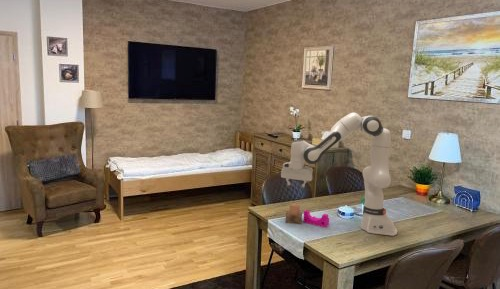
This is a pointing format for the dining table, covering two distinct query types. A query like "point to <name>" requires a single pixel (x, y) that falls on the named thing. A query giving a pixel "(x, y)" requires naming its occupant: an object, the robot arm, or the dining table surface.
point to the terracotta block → (294, 209)
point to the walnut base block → (294, 218)
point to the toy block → (316, 219)
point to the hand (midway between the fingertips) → (295, 186)
